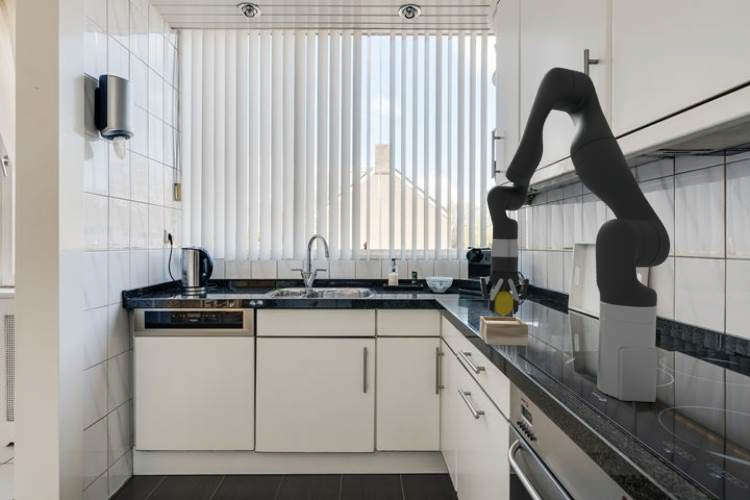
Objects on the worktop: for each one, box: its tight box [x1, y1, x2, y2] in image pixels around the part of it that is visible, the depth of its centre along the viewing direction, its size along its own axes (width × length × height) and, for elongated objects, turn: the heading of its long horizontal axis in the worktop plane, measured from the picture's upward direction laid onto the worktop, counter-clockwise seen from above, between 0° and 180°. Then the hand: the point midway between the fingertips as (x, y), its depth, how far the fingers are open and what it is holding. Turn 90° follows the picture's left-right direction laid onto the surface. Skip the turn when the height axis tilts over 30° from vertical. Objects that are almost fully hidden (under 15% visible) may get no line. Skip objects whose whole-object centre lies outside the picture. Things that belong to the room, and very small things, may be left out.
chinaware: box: [425, 276, 454, 293], centre depth 225 cm, size 15×15×8 cm
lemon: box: [494, 290, 513, 317], centre depth 117 cm, size 6×6×8 cm
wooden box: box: [479, 315, 529, 347], centre depth 117 cm, size 11×11×6 cm
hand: (503, 312), depth 117 cm, fingers closed on lemon, 5 cm apart
